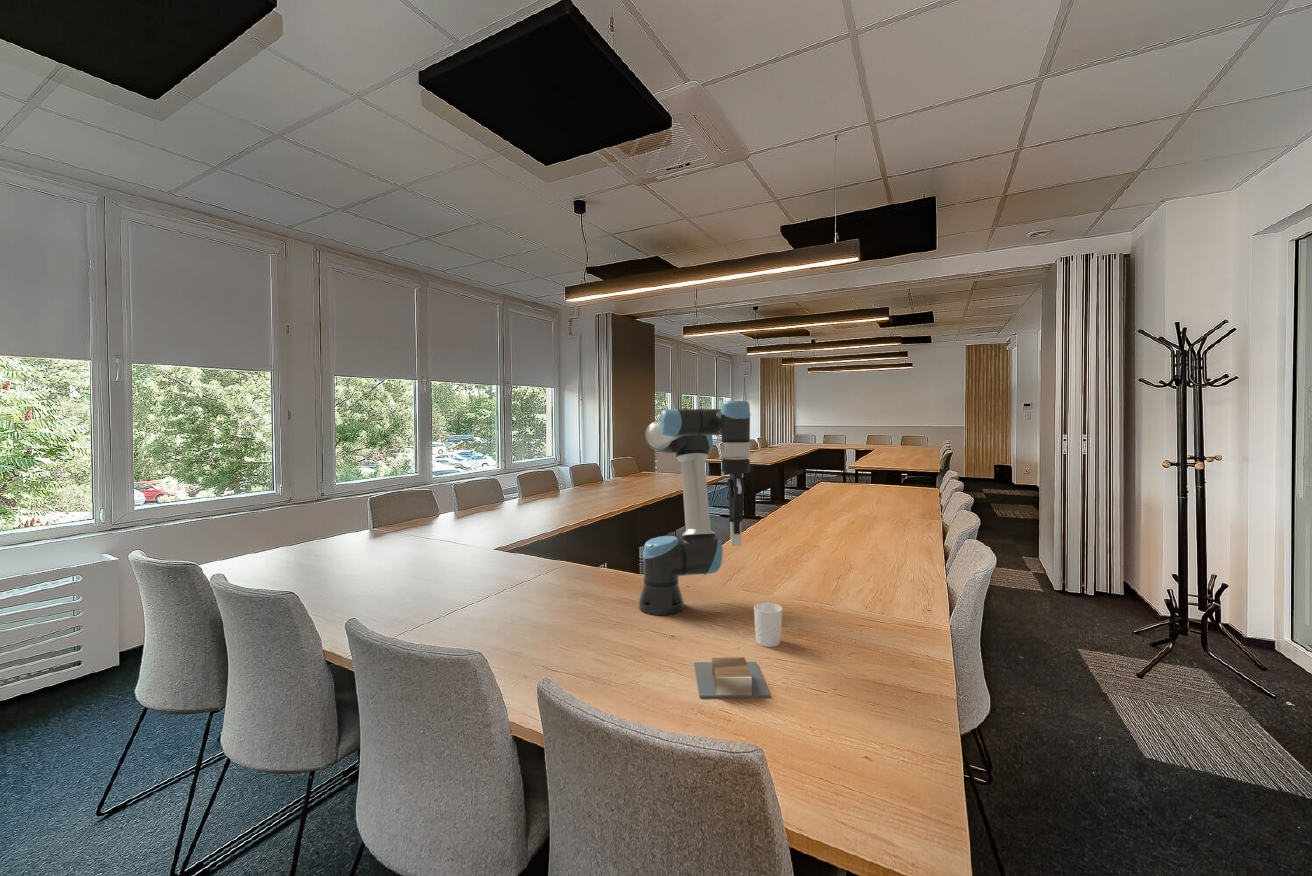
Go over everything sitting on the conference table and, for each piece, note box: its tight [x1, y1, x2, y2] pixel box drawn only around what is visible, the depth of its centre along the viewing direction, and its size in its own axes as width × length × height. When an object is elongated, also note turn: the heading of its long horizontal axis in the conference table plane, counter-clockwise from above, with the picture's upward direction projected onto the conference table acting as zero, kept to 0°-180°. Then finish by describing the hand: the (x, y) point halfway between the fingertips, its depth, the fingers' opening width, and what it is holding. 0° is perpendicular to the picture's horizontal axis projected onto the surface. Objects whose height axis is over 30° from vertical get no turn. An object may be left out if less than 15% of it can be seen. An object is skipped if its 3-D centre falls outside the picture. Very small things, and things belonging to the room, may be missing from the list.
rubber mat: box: [693, 661, 771, 699], centre depth 124 cm, size 16×16×1 cm
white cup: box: [753, 602, 783, 648], centre depth 145 cm, size 8×8×10 cm
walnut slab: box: [711, 656, 752, 695], centre depth 121 cm, size 4×8×10 cm
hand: (736, 545), depth 138 cm, fingers closed
